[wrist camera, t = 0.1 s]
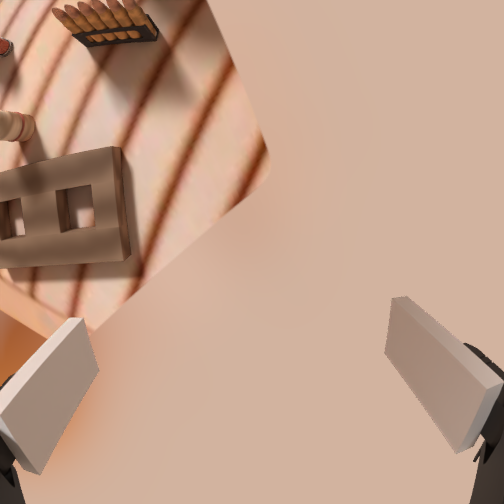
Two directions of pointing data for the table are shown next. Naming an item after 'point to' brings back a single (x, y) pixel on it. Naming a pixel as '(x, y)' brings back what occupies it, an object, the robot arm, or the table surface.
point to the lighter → (5, 47)
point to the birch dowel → (16, 126)
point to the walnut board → (65, 211)
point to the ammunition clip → (107, 23)
